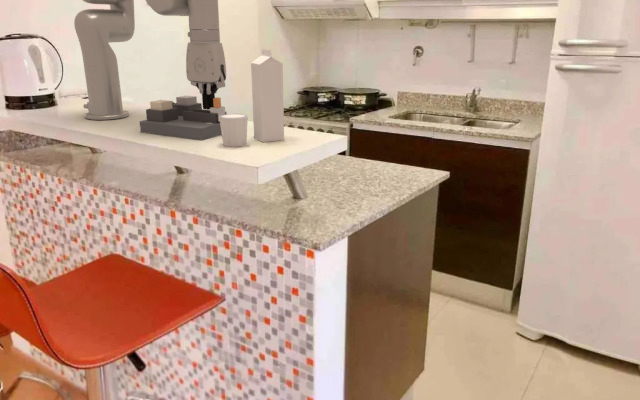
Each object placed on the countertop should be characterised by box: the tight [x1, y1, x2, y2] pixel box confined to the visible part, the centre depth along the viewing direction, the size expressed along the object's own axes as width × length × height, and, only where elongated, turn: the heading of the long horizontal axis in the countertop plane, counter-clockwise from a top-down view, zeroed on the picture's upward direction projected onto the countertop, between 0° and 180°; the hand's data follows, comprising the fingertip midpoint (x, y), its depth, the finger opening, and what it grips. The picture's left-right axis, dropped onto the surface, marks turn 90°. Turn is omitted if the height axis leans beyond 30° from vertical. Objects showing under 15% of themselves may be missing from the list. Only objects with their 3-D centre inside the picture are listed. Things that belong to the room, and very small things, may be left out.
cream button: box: [149, 99, 173, 111], centre depth 144 cm, size 4×4×4 cm
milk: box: [250, 48, 285, 143], centre depth 133 cm, size 6×6×22 cm
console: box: [139, 102, 228, 141], centre depth 146 cm, size 21×19×6 cm
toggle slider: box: [209, 97, 226, 122], centre depth 141 cm, size 3×3×6 cm
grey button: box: [175, 95, 198, 106], centre depth 152 cm, size 4×4×4 cm
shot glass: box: [219, 113, 249, 148], centre depth 129 cm, size 7×7×7 cm
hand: (209, 108), depth 142 cm, fingers closed
